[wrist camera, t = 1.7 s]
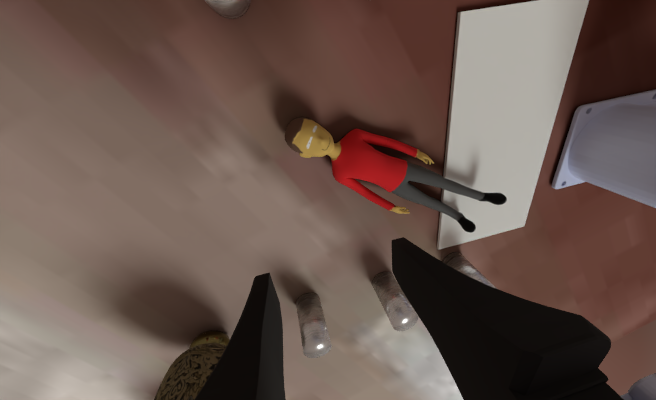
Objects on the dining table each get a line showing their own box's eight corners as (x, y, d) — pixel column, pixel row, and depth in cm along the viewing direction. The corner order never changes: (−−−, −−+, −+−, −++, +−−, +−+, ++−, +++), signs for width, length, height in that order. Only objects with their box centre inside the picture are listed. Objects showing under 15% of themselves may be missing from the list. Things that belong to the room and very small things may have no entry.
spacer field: (512, -70, 16) (606, -117, 12) (460, 266, 29) (495, 301, 25) (196, -35, 14) (167, -78, 9) (298, 312, 27) (306, 361, 23)
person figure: (485, 248, 22) (279, 168, 15) (449, 233, 25) (269, 164, 18) (511, 190, 21) (312, 81, 15) (470, 184, 25) (296, 94, 18)
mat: (586, -7, 19) (591, -8, 18) (521, 224, 29) (524, 226, 28) (457, 12, 17) (460, 12, 17) (436, 248, 27) (438, 249, 27)
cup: (154, 328, 24) (111, 438, 17) (235, 303, 25) (226, 398, 18) (190, 372, 28) (168, 476, 21) (260, 348, 28) (260, 441, 22)
